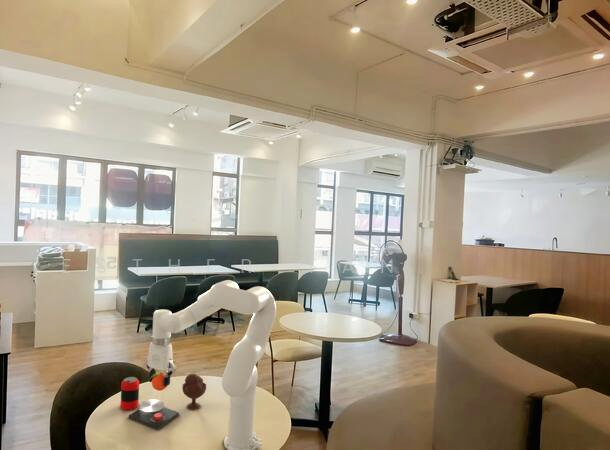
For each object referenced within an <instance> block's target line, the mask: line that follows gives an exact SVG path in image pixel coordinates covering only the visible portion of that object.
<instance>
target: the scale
mask: <svg viewBox="0 0 610 450" xmlns="http://www.w3.org/2000/svg"><path fill="white" fill-rule="evenodd" d="M158 413H161V414H162V419H161V420H159V421H156V420H154V415H155V414H156V413H154V414H145V413H142V412H140V411H139V410H138V409H137V410H135V411H133V412H132V413H130V414H128V419H129V420H132V421H134V422H137V423H139V424H142V425H144V426H147V427H150V428H152V429H155V430H157V431H159V430H160V429H162V428H163V427H164V426H166V425H168V424H169V423H170V422H172V421H173V420H174V419H176V418H178V417H179V415H180V412H179V411H177V410H173V409H170V408H167V407H165V406H164V409H163V410H162V411H160V412H158Z"/></svg>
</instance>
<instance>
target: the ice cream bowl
mask: <svg viewBox="0 0 610 450" xmlns="http://www.w3.org/2000/svg"><path fill="white" fill-rule="evenodd" d="M181 387H182V393H183V394H184V395H185V397H187V398H188V399H190V400H191V402H190V403H188V404H187V409H189V410H192V411H193V410H198V409H200V404H199V403H198V402H196V400H197V399H199V398H201V397H202V396H203V395H204V394H205V393H206V391H207V384H206V383H205V382H204V379H203V378H202V377H201V376H200V375H197V374H195V373H190V374H187V375H186V376H185V379H184V383H182V386H181Z"/></svg>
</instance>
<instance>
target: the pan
mask: <svg viewBox="0 0 610 450" xmlns="http://www.w3.org/2000/svg"><path fill="white" fill-rule="evenodd" d="M164 407H165V402H164V401H163V400H161V399H156V398H155V399H154V398H153V399H152V398H151V399H145V400H143V401H141V402H140V403H138V407H137V410H139V411H140V412H142V413H145V414H154V413H158V412H160V411H162V410H163V409H164Z"/></svg>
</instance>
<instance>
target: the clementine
mask: <svg viewBox="0 0 610 450" xmlns="http://www.w3.org/2000/svg"><path fill="white" fill-rule="evenodd" d="M153 376H154V377H153ZM153 376H152V377H153V379H152V382H151V386H152V388H153V389H154V390H156V391H158V392H159V391H164V390H165V389H167V387H168V386H166V387H164V377H165V373H164V372H163V371H160V372H156V374H154V375H153ZM152 377H151V378H152ZM151 378H150V379H151Z"/></svg>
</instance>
